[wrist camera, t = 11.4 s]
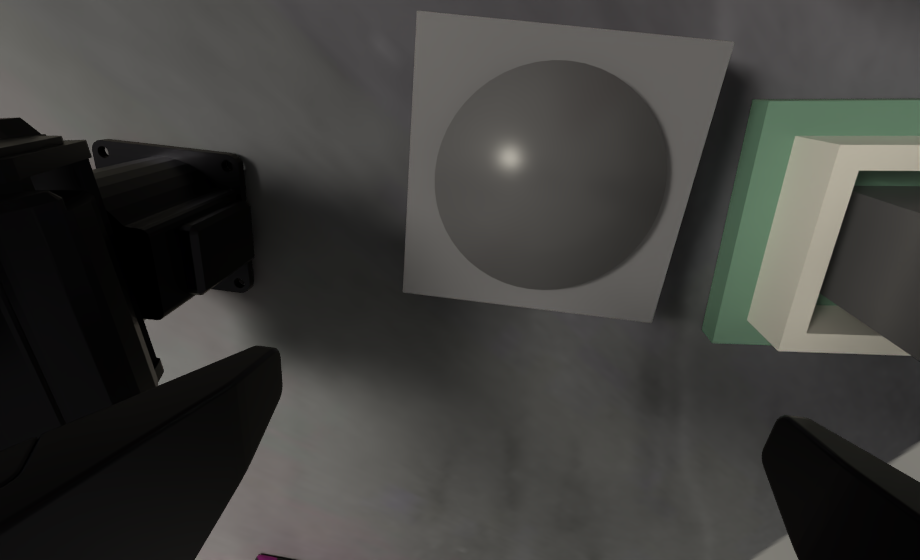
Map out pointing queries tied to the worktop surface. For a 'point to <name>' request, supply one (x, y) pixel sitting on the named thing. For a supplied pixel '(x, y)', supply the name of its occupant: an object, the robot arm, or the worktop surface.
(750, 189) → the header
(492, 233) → the grey domed square block
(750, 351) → the worktop surface
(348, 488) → the worktop surface
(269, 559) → the candy bar box
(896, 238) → the dark grey tall block
